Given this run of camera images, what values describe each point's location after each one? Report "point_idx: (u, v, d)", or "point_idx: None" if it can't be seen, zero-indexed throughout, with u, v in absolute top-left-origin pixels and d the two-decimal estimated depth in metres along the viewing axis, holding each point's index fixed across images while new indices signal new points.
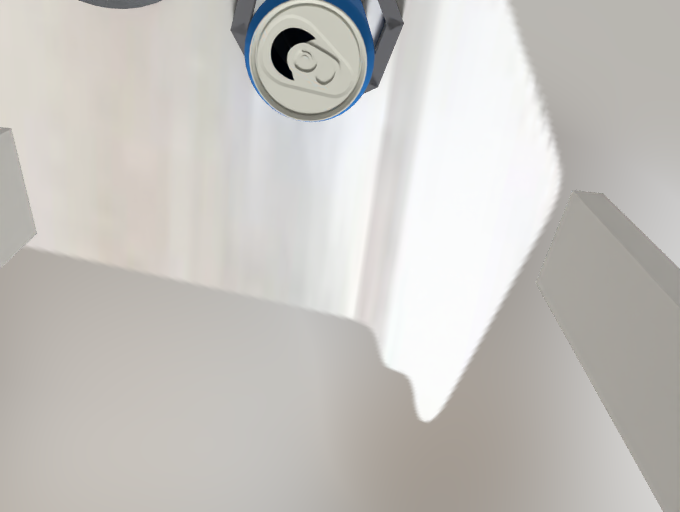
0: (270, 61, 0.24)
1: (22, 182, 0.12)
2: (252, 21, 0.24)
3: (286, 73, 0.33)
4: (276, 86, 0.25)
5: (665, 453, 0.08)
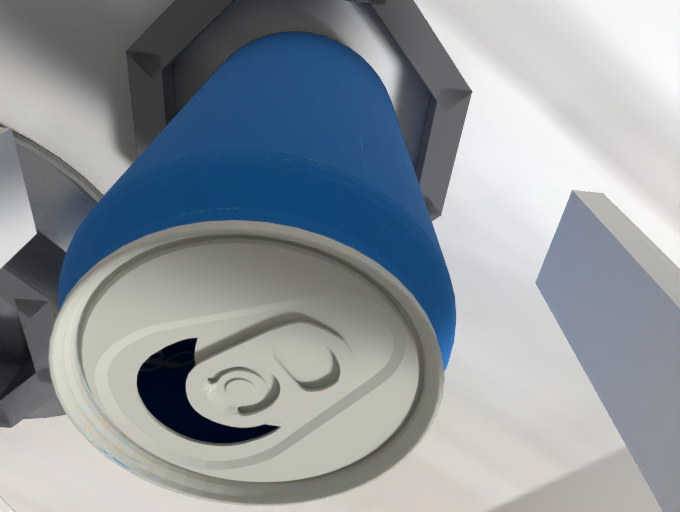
0: (203, 446, 0.08)
1: (22, 183, 0.12)
2: None
3: None
4: (270, 463, 0.08)
5: (665, 453, 0.08)
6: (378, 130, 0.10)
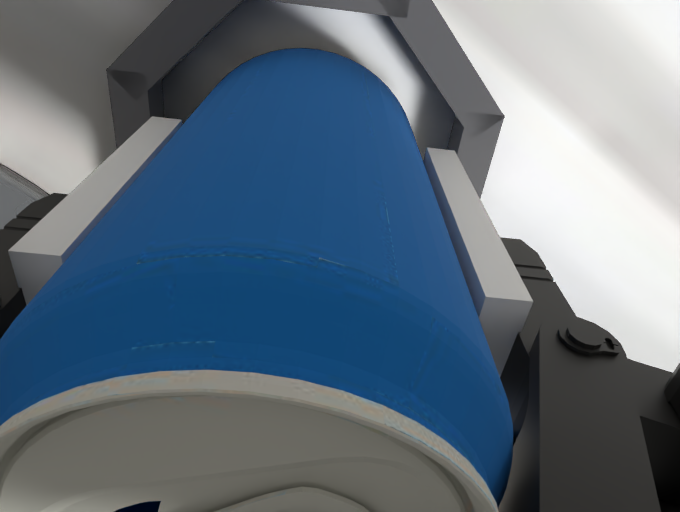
0: None
1: None
2: None
3: None
4: None
5: None
6: (405, 184, 0.08)
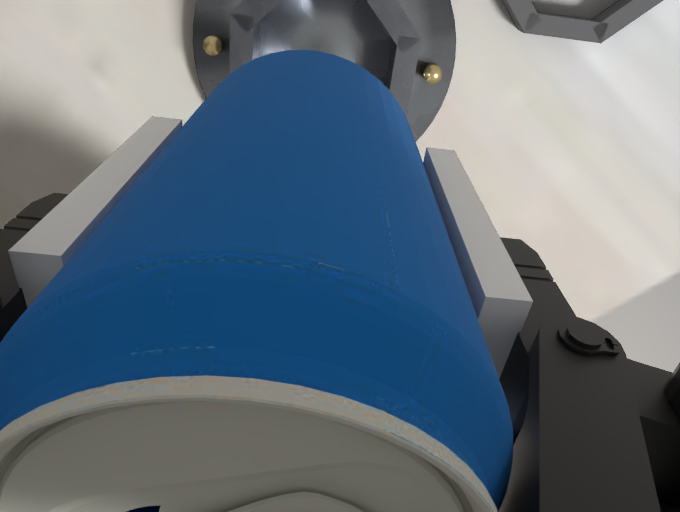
0: None
1: None
2: None
3: None
4: None
5: None
6: (405, 187, 0.08)
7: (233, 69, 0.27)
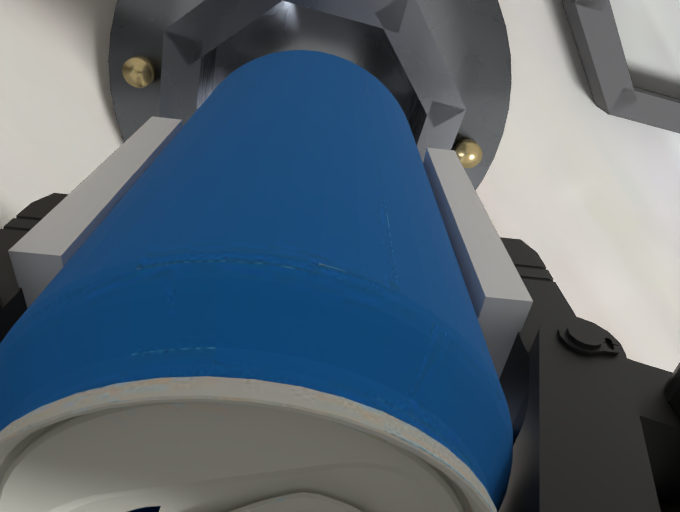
0: None
1: None
2: None
3: None
4: None
5: None
6: (405, 188, 0.08)
7: None
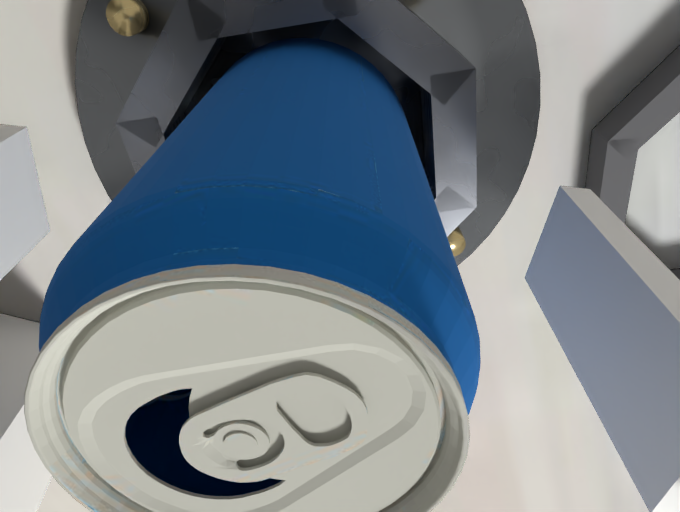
0: (199, 499, 0.08)
1: (37, 180, 0.12)
2: None
3: None
4: None
5: (645, 442, 0.08)
6: (393, 148, 0.09)
7: (143, 86, 0.13)
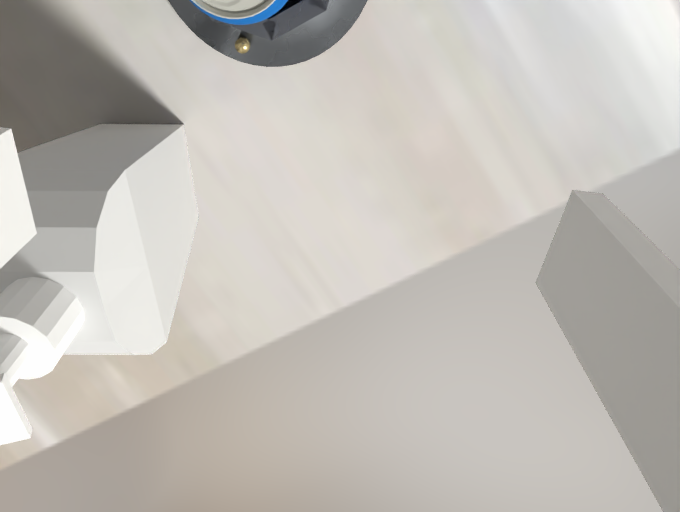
0: None
1: (22, 182, 0.12)
2: (192, 2, 0.24)
3: None
4: None
5: (665, 453, 0.08)
6: None
7: None
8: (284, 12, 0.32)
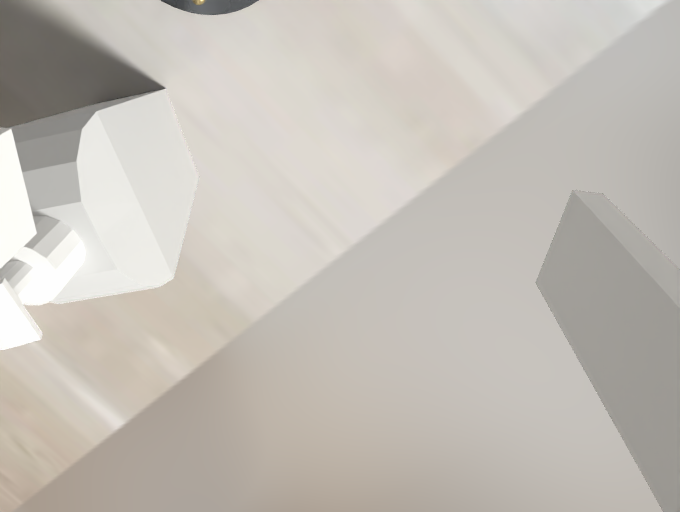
0: None
1: (22, 182, 0.12)
2: None
3: None
4: None
5: (665, 453, 0.08)
6: None
7: None
8: None
